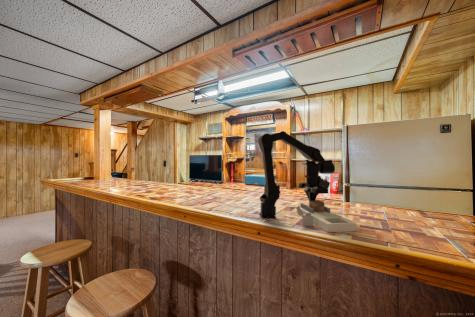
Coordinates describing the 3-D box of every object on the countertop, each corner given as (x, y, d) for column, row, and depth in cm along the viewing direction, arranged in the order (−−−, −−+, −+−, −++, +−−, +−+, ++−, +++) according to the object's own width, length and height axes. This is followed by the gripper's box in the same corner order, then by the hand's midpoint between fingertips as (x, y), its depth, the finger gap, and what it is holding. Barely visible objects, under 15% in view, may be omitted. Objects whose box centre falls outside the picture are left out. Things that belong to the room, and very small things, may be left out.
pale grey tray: (327, 232, 77) (327, 219, 77) (296, 212, 105) (296, 202, 105) (356, 230, 79) (356, 218, 79) (318, 211, 107) (318, 202, 107)
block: (314, 212, 95) (314, 202, 95) (309, 209, 100) (309, 200, 100) (324, 211, 95) (324, 202, 95) (318, 209, 100) (318, 200, 100)
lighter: (313, 225, 85) (313, 206, 85) (313, 226, 84) (313, 207, 84) (295, 223, 88) (295, 204, 88) (295, 224, 86) (295, 205, 86)
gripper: (339, 175, 93) (338, 209, 93) (317, 172, 112) (317, 200, 112) (316, 175, 92) (316, 209, 92) (298, 172, 110) (298, 200, 110)
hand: (312, 204), depth 102 cm, fingers closed
